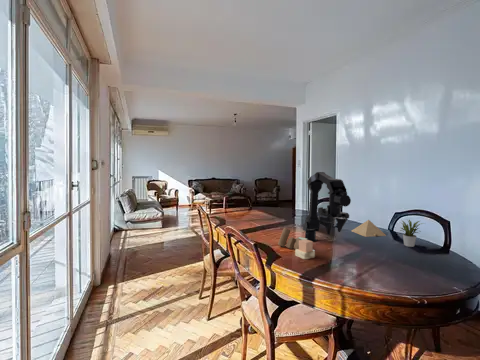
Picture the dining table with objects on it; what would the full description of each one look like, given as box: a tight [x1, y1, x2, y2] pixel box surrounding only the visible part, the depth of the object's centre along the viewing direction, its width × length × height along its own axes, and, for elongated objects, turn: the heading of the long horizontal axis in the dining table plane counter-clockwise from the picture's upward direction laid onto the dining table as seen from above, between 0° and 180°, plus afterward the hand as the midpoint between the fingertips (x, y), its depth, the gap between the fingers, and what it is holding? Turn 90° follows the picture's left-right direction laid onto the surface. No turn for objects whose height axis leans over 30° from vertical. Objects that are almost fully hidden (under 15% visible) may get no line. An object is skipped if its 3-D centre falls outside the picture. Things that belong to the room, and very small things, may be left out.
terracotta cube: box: [299, 239, 314, 252], centre depth 148 cm, size 5×5×5 cm
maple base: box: [294, 249, 316, 260], centre depth 148 cm, size 7×7×4 cm
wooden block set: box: [277, 227, 302, 250], centre depth 165 cm, size 18×9×10 cm, turn 31°
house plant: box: [399, 219, 426, 248], centre depth 169 cm, size 14×14×16 cm
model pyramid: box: [351, 219, 387, 238], centre depth 198 cm, size 17×17×10 cm
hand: (333, 233), depth 149 cm, fingers open, 9 cm apart
